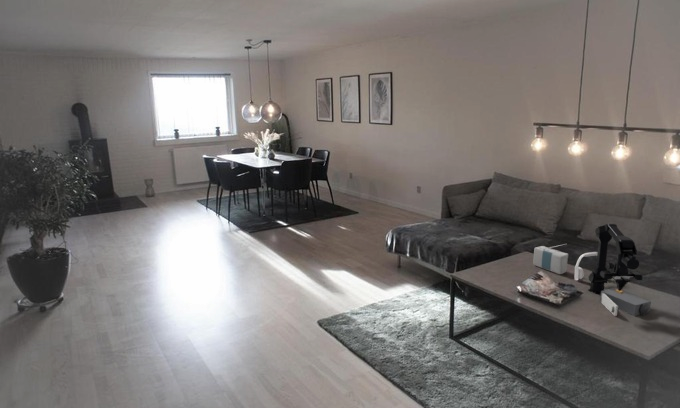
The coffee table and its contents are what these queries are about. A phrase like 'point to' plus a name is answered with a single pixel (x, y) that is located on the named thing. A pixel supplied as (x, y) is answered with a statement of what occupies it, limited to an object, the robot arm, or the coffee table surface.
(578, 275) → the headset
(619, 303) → the grey slab
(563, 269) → the stereo radio cassette player
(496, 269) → the coffee table surface
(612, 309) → the side door
